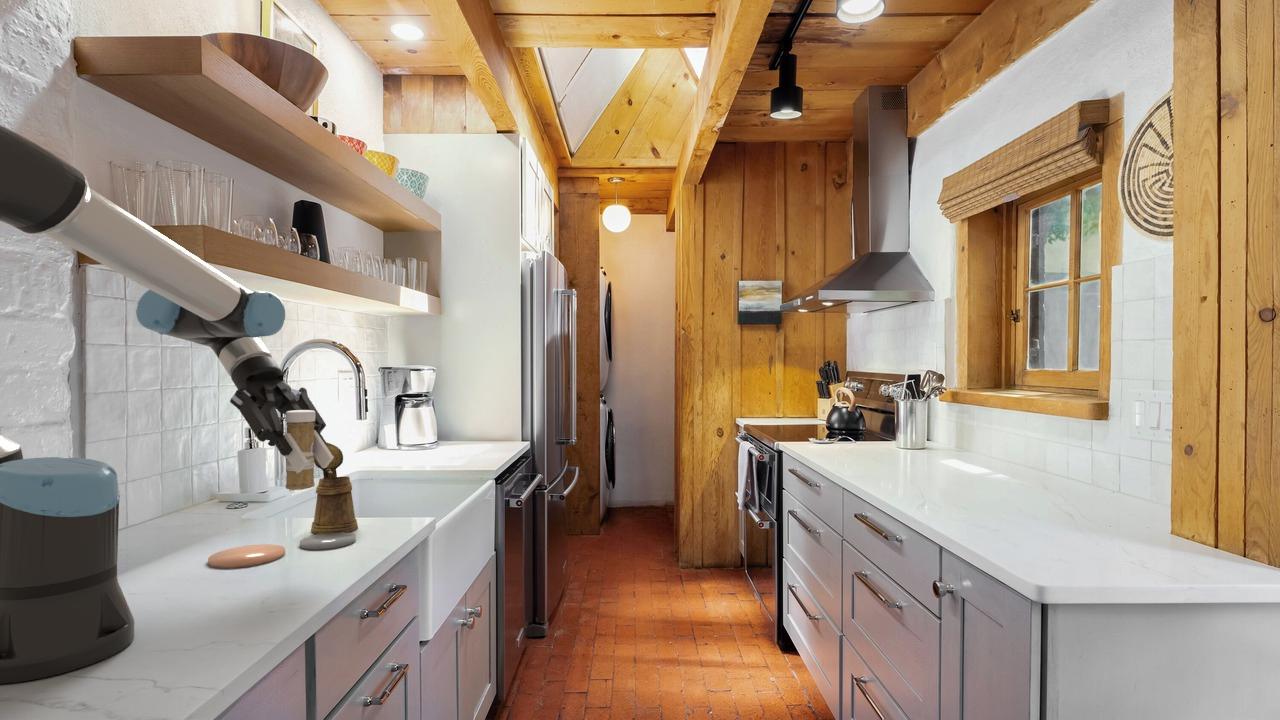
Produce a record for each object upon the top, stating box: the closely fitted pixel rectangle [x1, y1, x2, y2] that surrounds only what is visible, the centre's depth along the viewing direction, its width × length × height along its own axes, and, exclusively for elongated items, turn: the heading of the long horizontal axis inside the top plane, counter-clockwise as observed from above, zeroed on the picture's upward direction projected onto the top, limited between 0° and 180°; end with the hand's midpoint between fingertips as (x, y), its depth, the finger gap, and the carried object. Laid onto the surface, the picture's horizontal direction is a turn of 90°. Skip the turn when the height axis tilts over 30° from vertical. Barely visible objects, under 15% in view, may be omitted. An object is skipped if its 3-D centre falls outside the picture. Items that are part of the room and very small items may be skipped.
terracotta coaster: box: [207, 543, 286, 569], centre depth 116 cm, size 12×12×1 cm
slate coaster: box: [299, 532, 357, 551], centre depth 126 cm, size 10×10×1 cm
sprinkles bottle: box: [285, 410, 315, 491], centre depth 110 cm, size 5×5×14 cm
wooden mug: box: [310, 442, 359, 535], centre depth 138 cm, size 9×14×18 cm, turn 37°
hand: (315, 464), depth 108 cm, fingers closed on sprinkles bottle, 4 cm apart
